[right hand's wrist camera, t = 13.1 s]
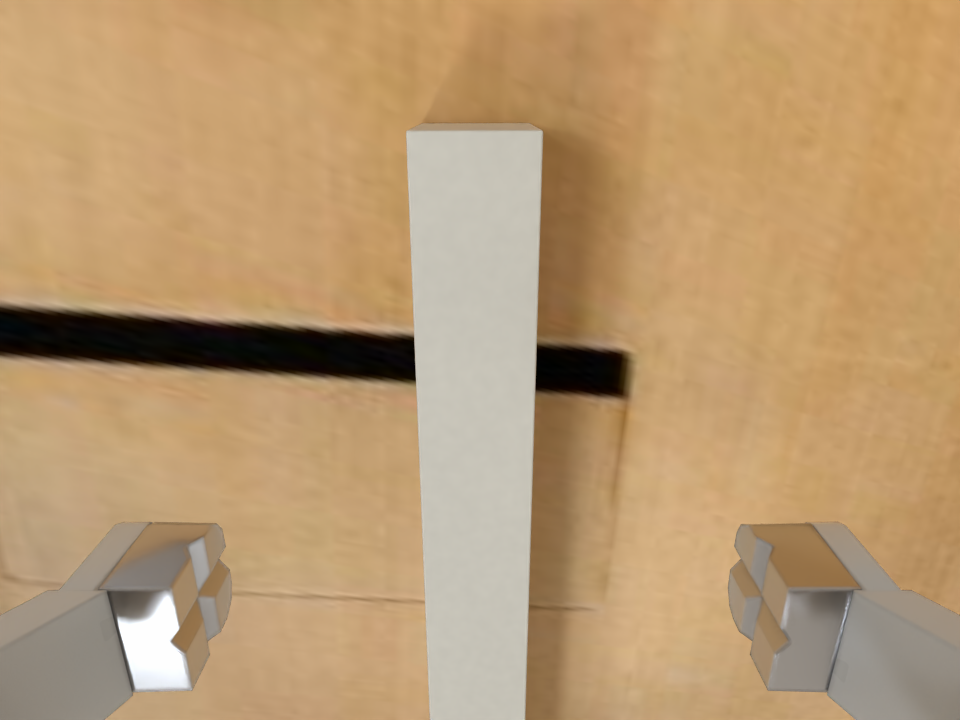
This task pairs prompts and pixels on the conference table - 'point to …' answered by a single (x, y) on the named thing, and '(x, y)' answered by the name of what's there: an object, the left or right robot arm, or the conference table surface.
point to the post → (475, 403)
